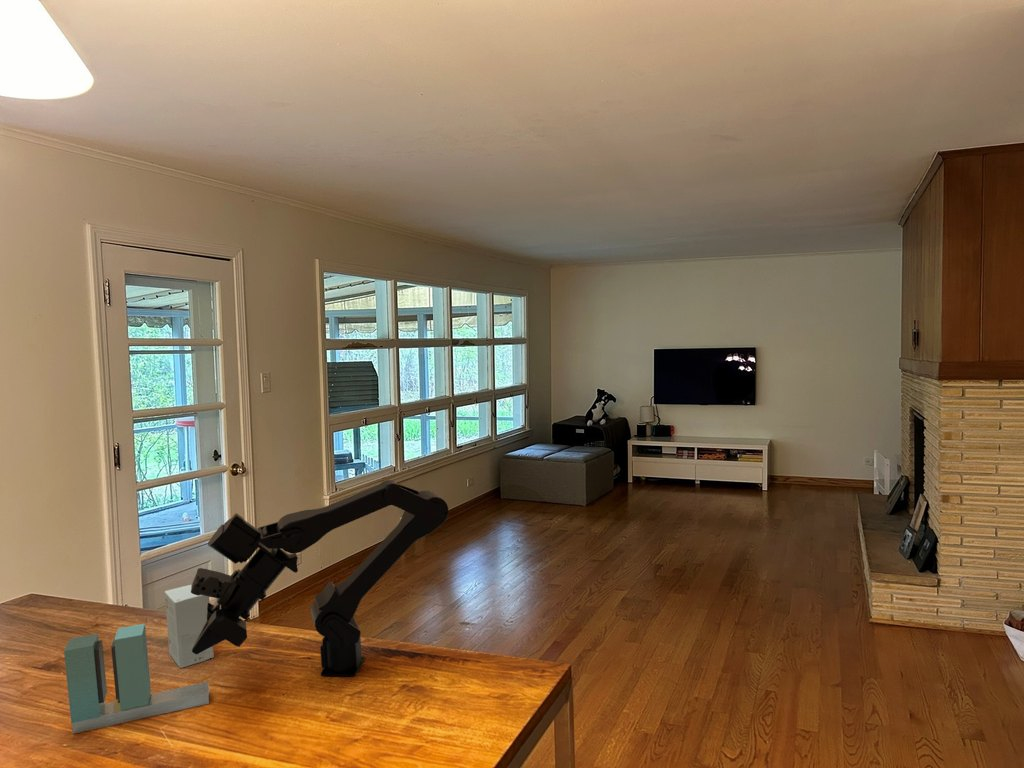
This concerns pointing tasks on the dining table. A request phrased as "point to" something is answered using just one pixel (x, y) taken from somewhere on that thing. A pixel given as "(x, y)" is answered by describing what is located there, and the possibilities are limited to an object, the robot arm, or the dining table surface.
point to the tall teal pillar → (131, 667)
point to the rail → (91, 691)
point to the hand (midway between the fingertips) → (194, 652)
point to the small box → (186, 625)
